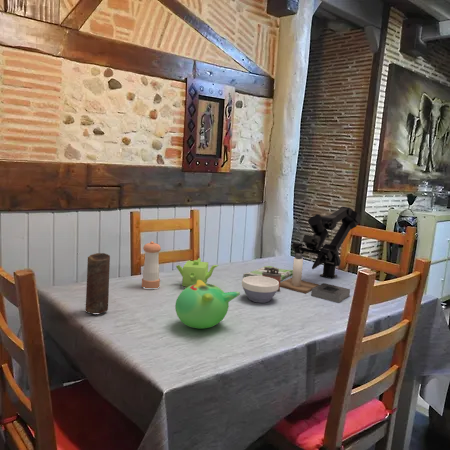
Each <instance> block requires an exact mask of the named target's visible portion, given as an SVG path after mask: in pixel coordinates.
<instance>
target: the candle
mask: <svg viewBox="0 0 450 450" xmlns="http://www.w3.org/2000/svg"><path fill="white" fill-rule="evenodd" d="M110 261H111V256H110V255H109V254H107V253H104V252H103V253H101V252H95V253H93V254H90V255H89V256H87V268H86V292H85V294H86V296H85V310H86V311H87V312H90V313H89V314H92V313H100V314H102V313H105V312H107V311H108V310H109V297H110V296H109V292H110V291H109V289H110V265H111V263H110ZM86 311H85V312H86ZM87 312H86V313H87Z"/></svg>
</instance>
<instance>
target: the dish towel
mask: <svg viewBox="0 0 450 450" xmlns="http://www.w3.org/2000/svg"><path fill="white" fill-rule="evenodd" d="M264 267H270V268H272V267H274V268H276V267H275V266H271V265H266V266H265V265H264V266H263V267H260V268H258V269H255V270H252V271H250V272H244V273H243V276H242V277H243V278H245V277H248V276H262V272H267V270H264ZM278 269H279V272H278V273H281V279H280V282H283V281H285V280H287V279H289V278H291V277H292V275H293V269H285V268H278ZM269 272H270V271H269ZM275 272H276V271H275Z"/></svg>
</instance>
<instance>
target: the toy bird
mask: <svg viewBox="0 0 450 450" xmlns="http://www.w3.org/2000/svg"><path fill="white" fill-rule="evenodd" d="M240 294H241V293H240V291H230V292H225V291H224V290H222V288H220V287H219V286H217V285H215V284H211V283H204V282H203V281H202V280H197V283H196V284H194V285H191V286H189V287H187V288H184V289H183V290H182V291H181V292H180V293H179V294H178V296H177V297H176V301H175V306H174V307H175V309H174V310H175V312H176V313H175V314H176V315H177V318H178V319H179V321H181V323H183V324H184V325H186V326H187V327H189V328H193V329H200V330H202V329H210V328H213V327H214V326H216V325H218V324H220V322H221V321H223V320H224V319H225V317H226V315H227V314H228V311H229V305H230V303H229V302H230V301H232V300H234V299H236V298H238V297H239V296H240Z"/></svg>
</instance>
